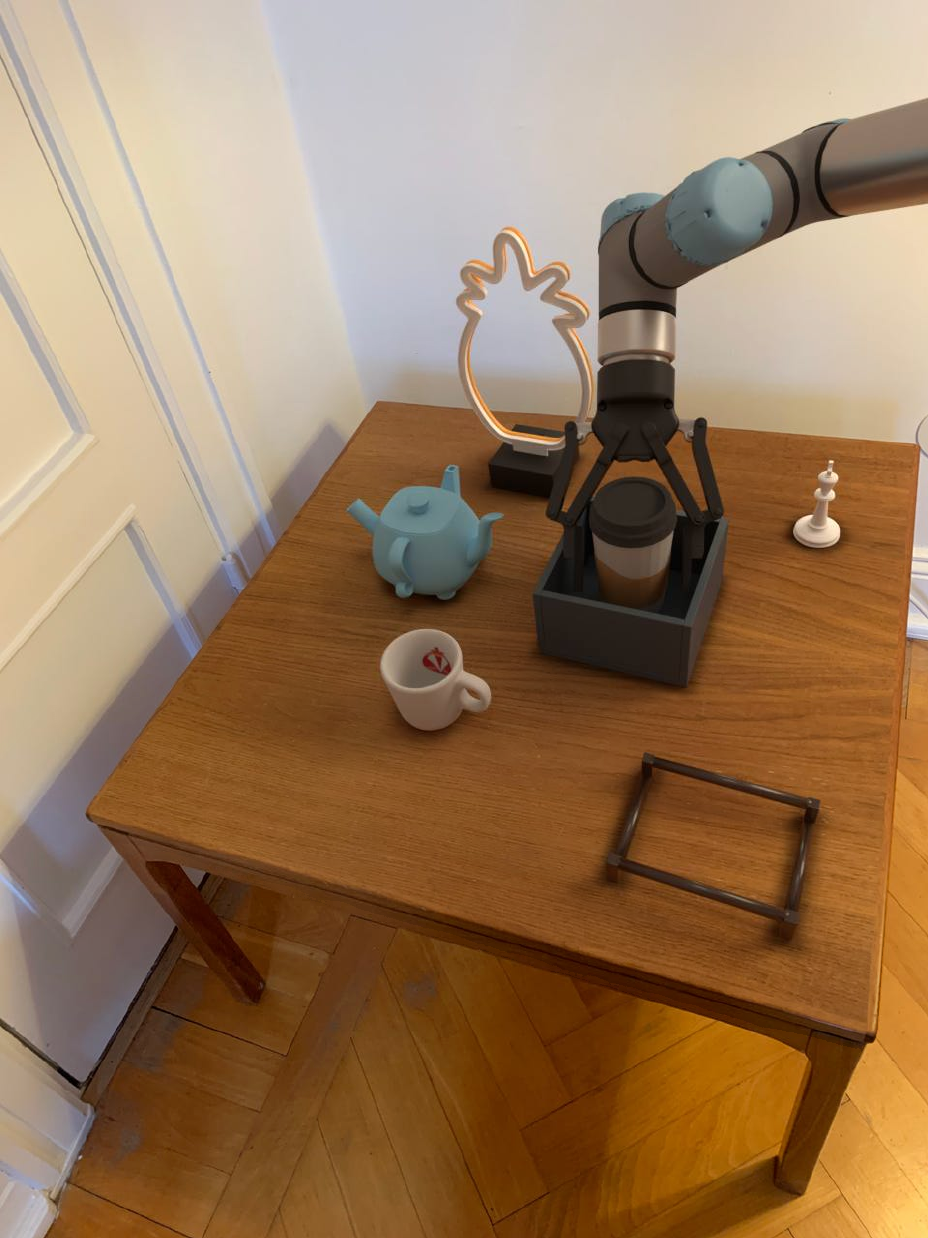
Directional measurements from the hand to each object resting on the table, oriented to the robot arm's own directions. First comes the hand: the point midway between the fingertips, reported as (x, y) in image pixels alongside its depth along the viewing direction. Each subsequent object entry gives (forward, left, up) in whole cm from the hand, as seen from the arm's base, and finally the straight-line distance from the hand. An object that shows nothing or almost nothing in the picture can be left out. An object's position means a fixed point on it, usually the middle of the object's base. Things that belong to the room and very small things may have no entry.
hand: (631, 592), depth 85 cm
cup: (+15, +15, -7) cm, 22 cm away
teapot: (+25, -4, -7) cm, 26 cm away
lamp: (+20, -24, -7) cm, 32 cm away
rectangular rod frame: (-13, +21, -7) cm, 26 cm away
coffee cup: (+1, -3, -6) cm, 7 cm away
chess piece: (-15, -21, -7) cm, 27 cm away
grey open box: (+1, -3, -7) cm, 7 cm away
